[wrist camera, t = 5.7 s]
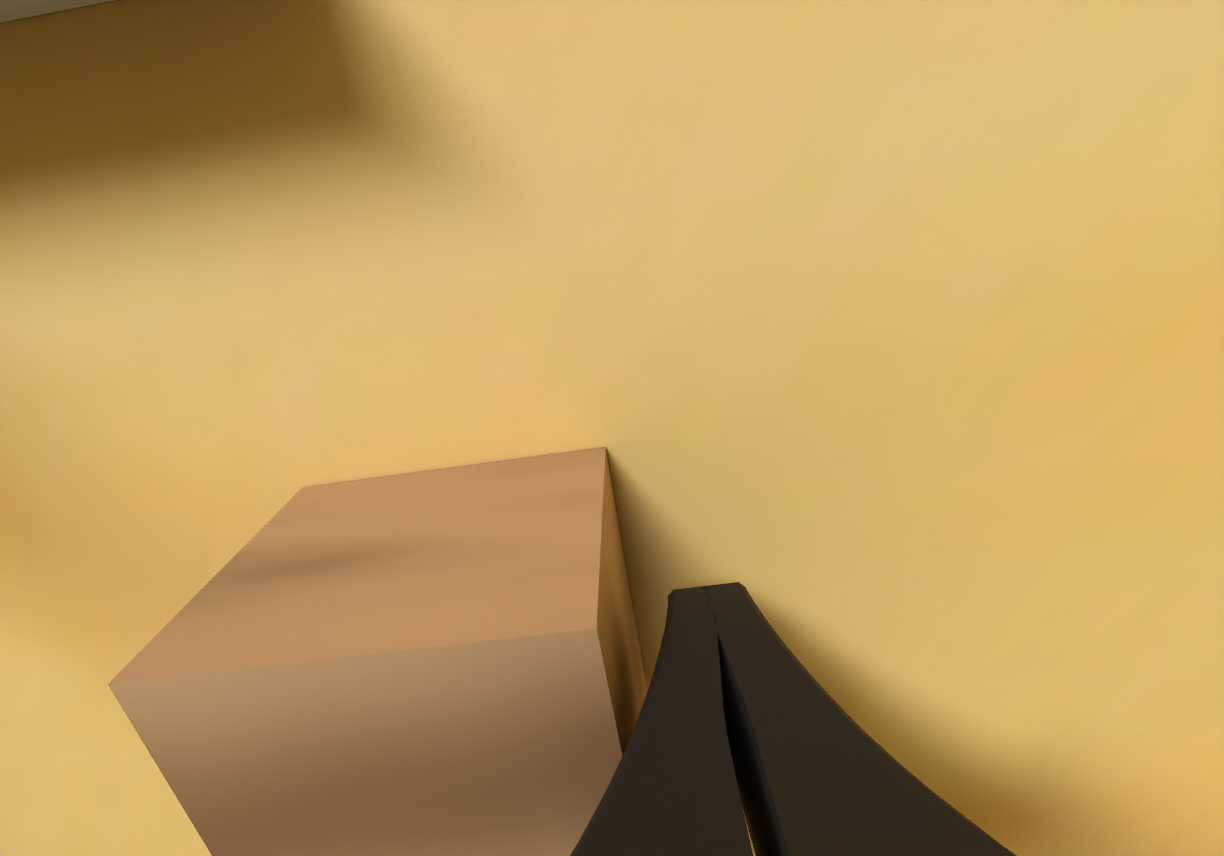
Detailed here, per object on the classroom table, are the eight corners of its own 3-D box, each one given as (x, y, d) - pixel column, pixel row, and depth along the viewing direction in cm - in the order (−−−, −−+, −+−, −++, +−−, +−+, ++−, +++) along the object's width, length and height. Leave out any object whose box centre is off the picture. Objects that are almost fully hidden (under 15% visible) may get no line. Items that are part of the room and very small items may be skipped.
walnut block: (646, 687, 14) (659, 941, 9) (390, 714, 14) (281, 970, 10) (605, 447, 12) (596, 628, 7) (301, 487, 12) (107, 683, 8)
